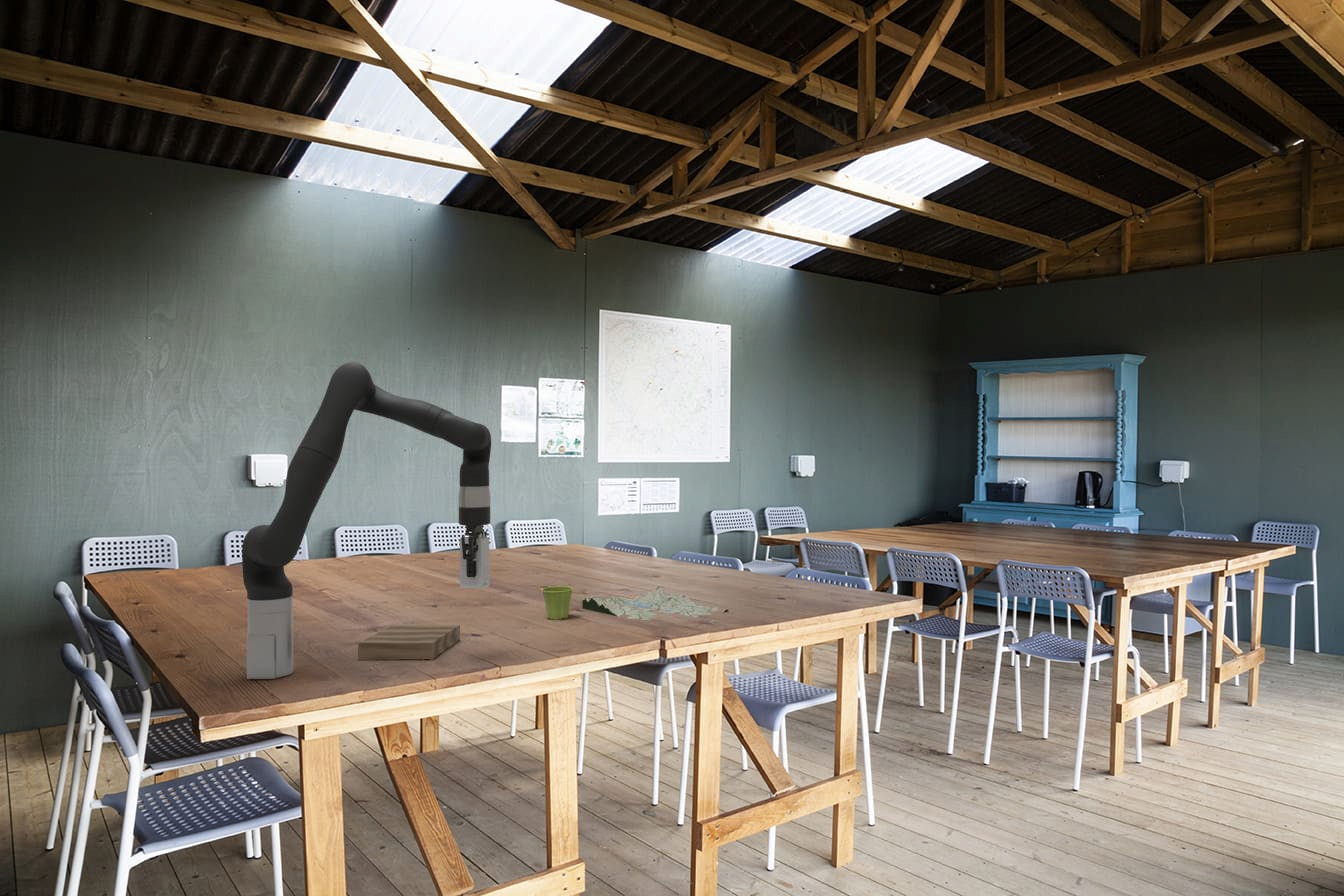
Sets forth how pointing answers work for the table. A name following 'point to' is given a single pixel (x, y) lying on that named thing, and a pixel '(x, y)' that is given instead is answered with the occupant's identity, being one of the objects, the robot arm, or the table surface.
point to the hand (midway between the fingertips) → (474, 575)
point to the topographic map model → (646, 605)
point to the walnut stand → (409, 642)
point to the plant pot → (557, 601)
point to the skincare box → (481, 567)
